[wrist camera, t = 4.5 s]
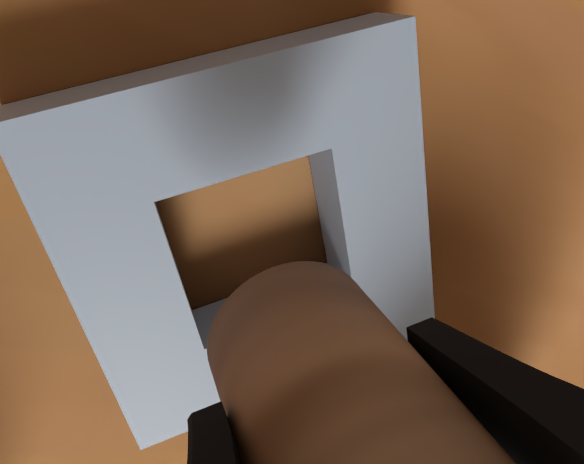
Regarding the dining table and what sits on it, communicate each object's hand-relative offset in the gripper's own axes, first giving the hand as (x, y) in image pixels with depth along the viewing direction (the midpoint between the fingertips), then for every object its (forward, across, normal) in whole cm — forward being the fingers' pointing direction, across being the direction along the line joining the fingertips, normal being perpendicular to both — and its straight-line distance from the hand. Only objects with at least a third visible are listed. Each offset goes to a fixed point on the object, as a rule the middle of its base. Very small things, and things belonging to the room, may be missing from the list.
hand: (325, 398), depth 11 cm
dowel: (+2, 0, 0) cm, 2 cm away
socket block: (+10, -1, 0) cm, 10 cm away
